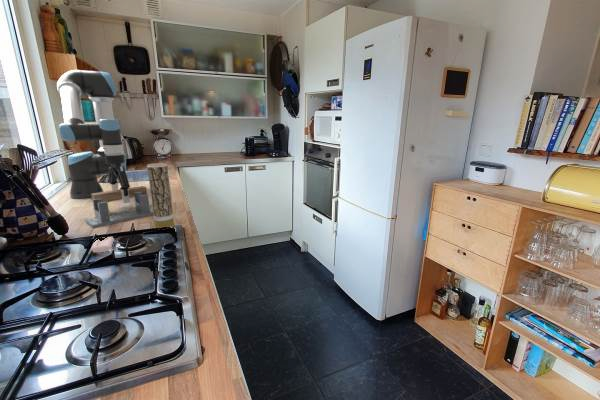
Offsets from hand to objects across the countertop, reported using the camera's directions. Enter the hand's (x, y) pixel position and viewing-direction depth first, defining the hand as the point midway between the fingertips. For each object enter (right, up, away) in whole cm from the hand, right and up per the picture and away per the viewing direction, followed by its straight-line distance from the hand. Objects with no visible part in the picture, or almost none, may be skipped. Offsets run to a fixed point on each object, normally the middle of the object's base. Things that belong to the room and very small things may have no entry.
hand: (121, 200), depth 142 cm
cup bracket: (+7, -7, -11) cm, 15 cm away
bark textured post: (+31, -11, -23) cm, 40 cm away
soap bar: (+18, -16, -41) cm, 47 cm away
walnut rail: (0, +1, 0) cm, 1 cm away
